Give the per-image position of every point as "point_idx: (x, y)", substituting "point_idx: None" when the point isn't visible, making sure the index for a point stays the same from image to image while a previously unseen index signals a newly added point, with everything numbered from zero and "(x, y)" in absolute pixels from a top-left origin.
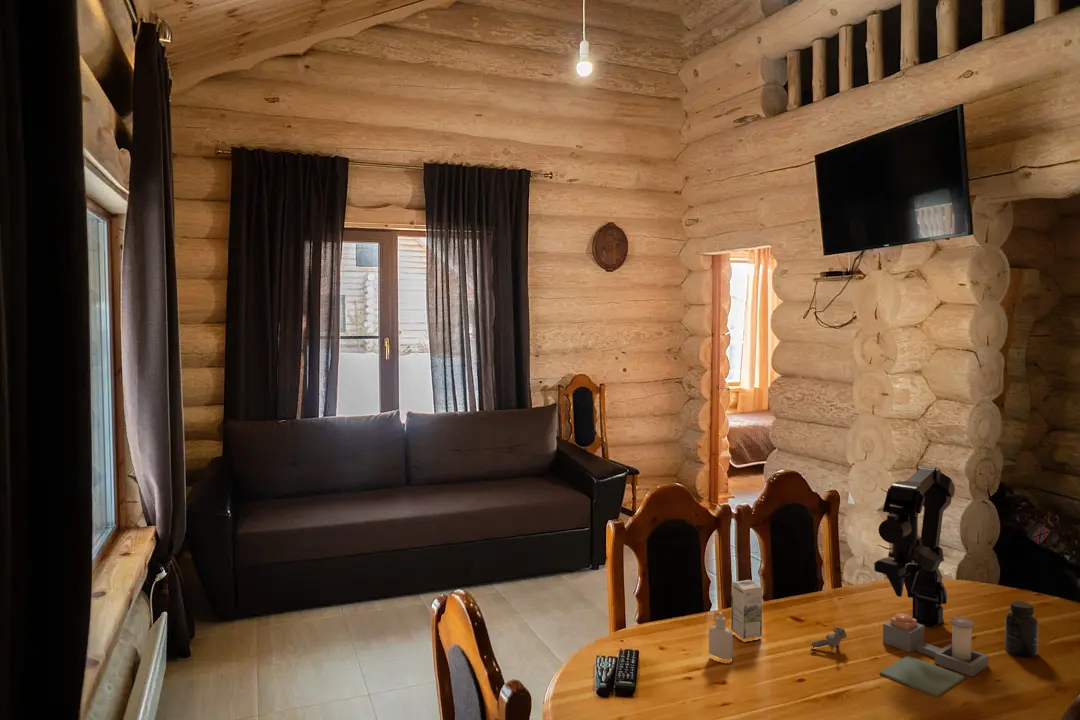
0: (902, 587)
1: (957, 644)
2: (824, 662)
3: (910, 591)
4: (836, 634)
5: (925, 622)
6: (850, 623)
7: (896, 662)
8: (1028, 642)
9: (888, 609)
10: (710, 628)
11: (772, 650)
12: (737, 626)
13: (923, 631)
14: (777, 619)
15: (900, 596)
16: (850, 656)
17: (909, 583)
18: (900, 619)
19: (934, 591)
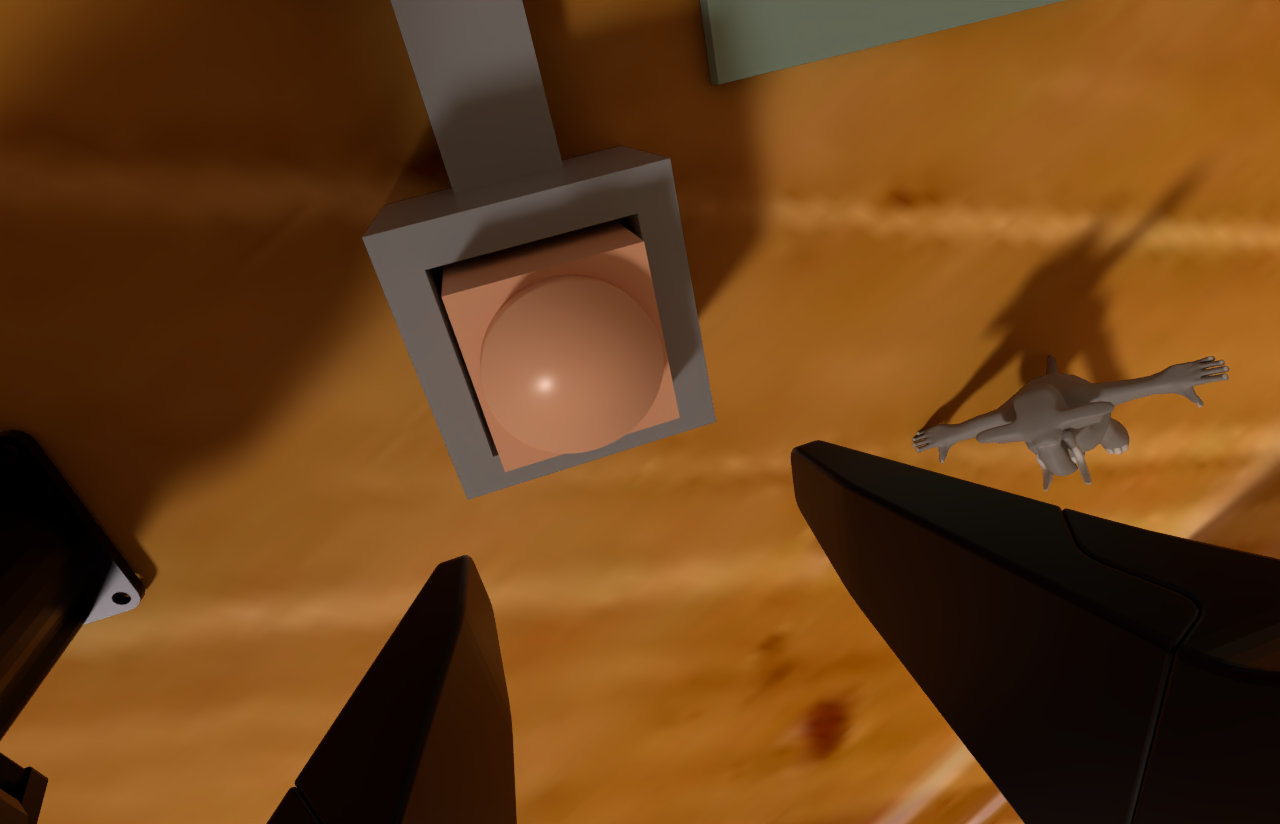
0: (958, 505)
1: None
2: (1160, 286)
3: (469, 564)
4: (1192, 369)
5: (43, 504)
6: (618, 636)
7: (895, 37)
8: None
9: (180, 758)
10: None
11: (1198, 484)
12: None
13: (388, 221)
14: (904, 736)
15: (818, 446)
16: (997, 286)
17: (473, 707)
18: (657, 336)
19: None
